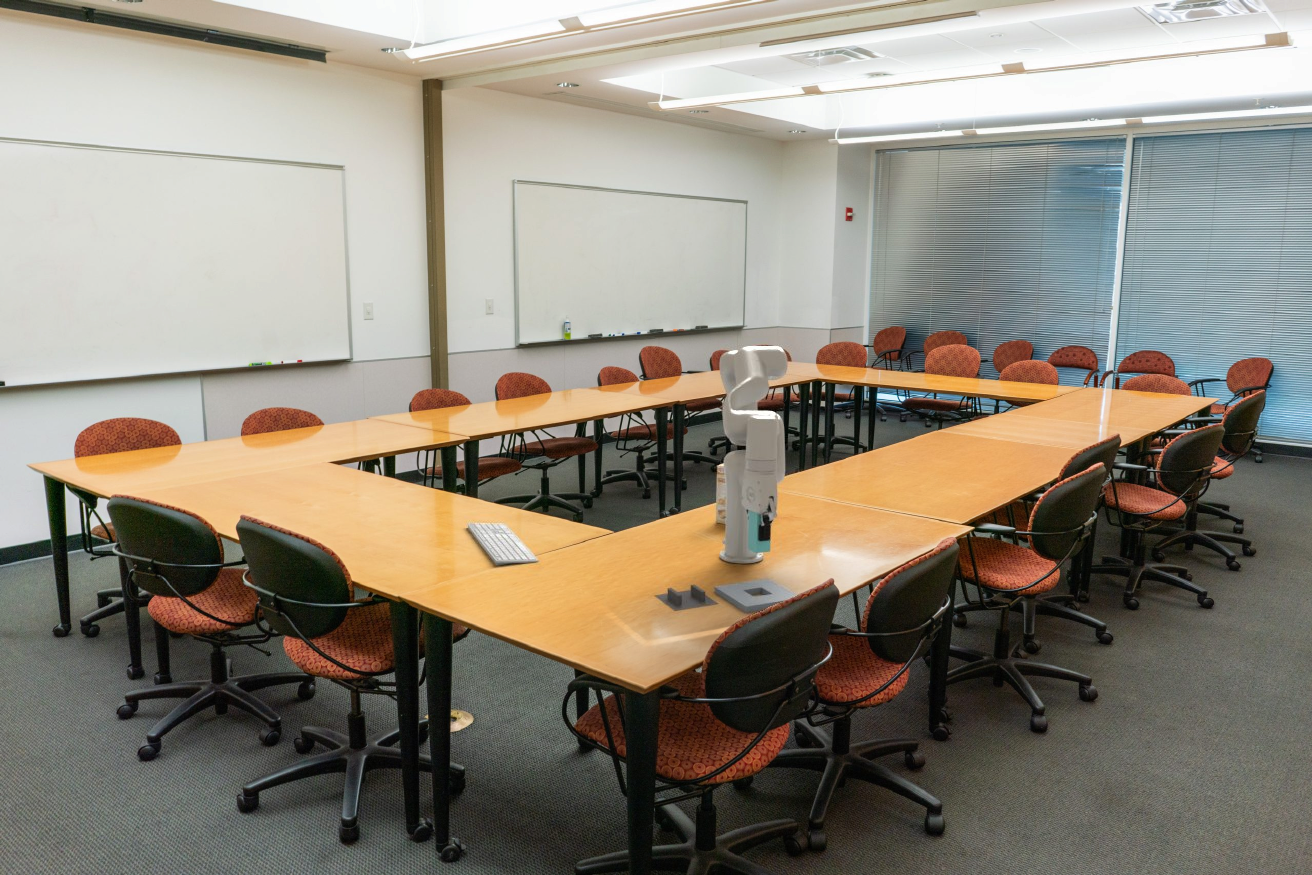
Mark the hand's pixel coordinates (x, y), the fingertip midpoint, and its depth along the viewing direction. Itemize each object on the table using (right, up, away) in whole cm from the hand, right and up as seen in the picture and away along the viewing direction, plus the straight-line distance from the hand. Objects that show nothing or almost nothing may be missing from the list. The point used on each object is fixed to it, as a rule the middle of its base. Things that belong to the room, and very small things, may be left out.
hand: (759, 537), depth 229 cm
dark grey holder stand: (-18, -17, +1) cm, 25 cm away
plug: (0, -3, 0) cm, 3 cm away
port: (0, -16, +3) cm, 17 cm away
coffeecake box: (+1, -3, +83) cm, 83 cm away
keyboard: (-73, -8, +52) cm, 90 cm away
